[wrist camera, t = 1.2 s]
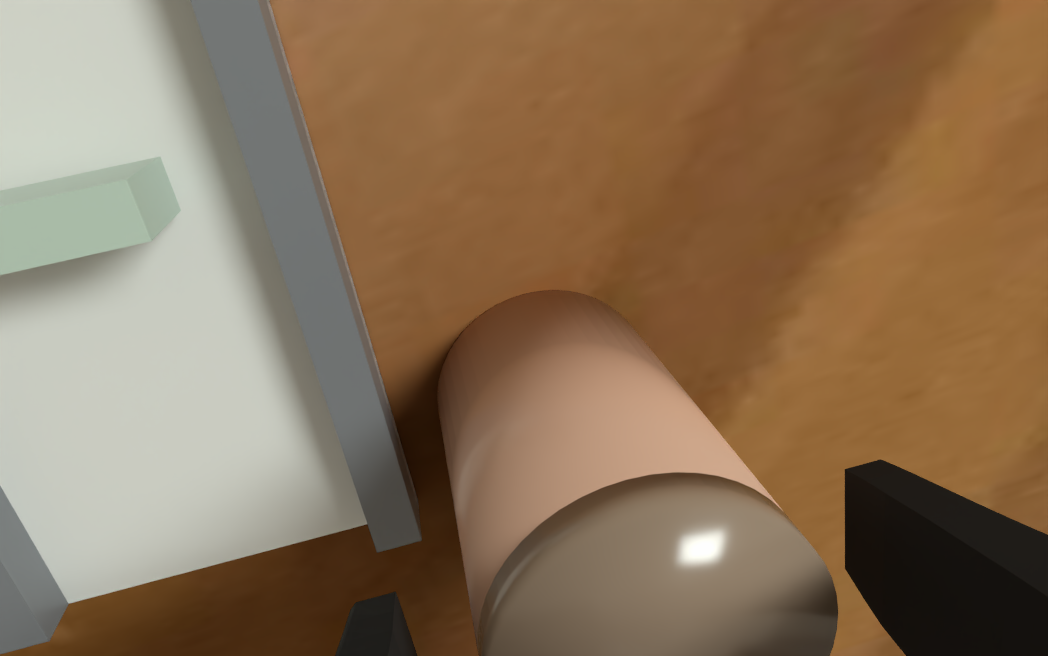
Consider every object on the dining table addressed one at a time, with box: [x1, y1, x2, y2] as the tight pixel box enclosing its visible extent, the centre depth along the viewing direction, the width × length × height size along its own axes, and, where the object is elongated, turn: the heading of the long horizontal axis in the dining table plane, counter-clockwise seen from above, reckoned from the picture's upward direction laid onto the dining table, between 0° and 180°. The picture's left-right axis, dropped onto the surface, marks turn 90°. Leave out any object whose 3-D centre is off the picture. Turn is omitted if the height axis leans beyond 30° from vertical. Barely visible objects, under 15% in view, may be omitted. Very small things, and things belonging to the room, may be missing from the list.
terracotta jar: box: [437, 290, 838, 656], centre depth 14 cm, size 5×5×8 cm
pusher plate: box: [0, 157, 181, 275], centre depth 12 cm, size 4×1×2 cm, turn 100°
